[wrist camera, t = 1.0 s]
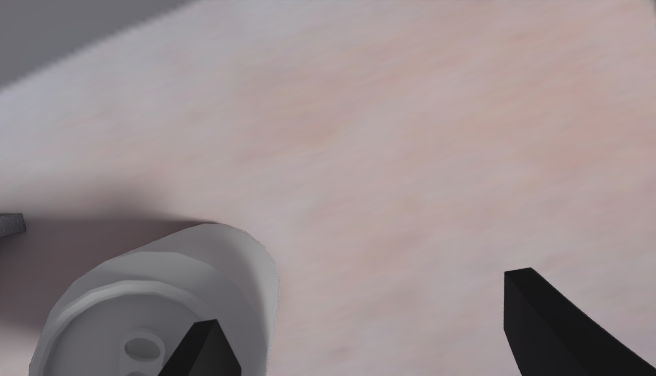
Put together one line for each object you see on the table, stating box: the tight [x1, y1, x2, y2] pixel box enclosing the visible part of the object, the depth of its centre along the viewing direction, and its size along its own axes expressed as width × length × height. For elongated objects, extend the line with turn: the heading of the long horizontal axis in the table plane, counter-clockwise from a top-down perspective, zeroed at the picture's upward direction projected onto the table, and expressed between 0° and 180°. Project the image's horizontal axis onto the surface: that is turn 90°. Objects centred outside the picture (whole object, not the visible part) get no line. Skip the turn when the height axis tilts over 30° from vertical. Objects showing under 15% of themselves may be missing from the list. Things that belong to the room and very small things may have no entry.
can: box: [29, 224, 280, 376], centre depth 18 cm, size 8×8×12 cm
